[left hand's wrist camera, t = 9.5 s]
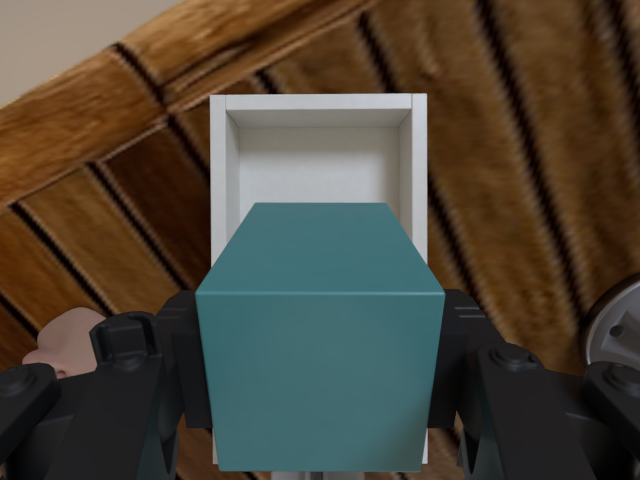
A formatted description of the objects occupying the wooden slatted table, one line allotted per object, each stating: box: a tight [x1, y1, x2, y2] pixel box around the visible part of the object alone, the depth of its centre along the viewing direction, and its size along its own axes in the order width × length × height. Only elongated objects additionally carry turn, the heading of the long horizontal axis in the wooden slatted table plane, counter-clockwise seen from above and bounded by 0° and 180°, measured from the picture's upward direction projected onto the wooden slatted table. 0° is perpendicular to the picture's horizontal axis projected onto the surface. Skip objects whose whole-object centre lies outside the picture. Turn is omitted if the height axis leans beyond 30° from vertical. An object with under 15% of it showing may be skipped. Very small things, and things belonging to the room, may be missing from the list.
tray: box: [210, 94, 427, 464], centre depth 26 cm, size 24×14×5 cm, turn 0°
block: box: [195, 202, 445, 472], centre depth 11 cm, size 5×5×7 cm
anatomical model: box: [22, 307, 107, 379], centre depth 37 cm, size 13×4×12 cm
